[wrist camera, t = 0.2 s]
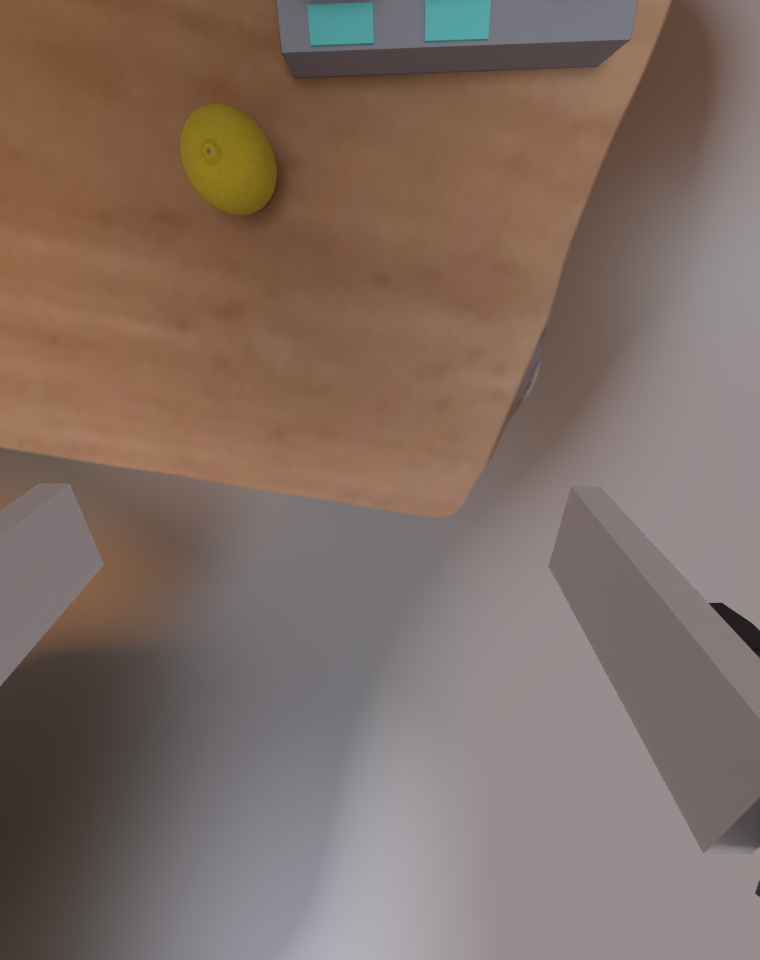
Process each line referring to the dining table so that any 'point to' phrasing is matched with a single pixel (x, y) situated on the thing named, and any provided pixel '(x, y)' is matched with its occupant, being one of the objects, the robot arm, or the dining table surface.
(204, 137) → the lemon
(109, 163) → the dining table surface
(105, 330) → the dining table surface
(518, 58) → the console
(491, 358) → the dining table surface
